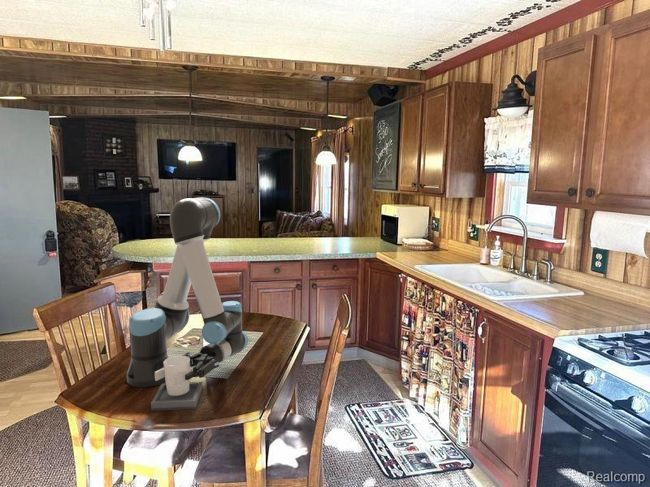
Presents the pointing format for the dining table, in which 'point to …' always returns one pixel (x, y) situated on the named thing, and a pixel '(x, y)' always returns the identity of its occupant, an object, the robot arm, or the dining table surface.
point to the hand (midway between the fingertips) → (165, 378)
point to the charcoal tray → (177, 398)
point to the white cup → (176, 374)
